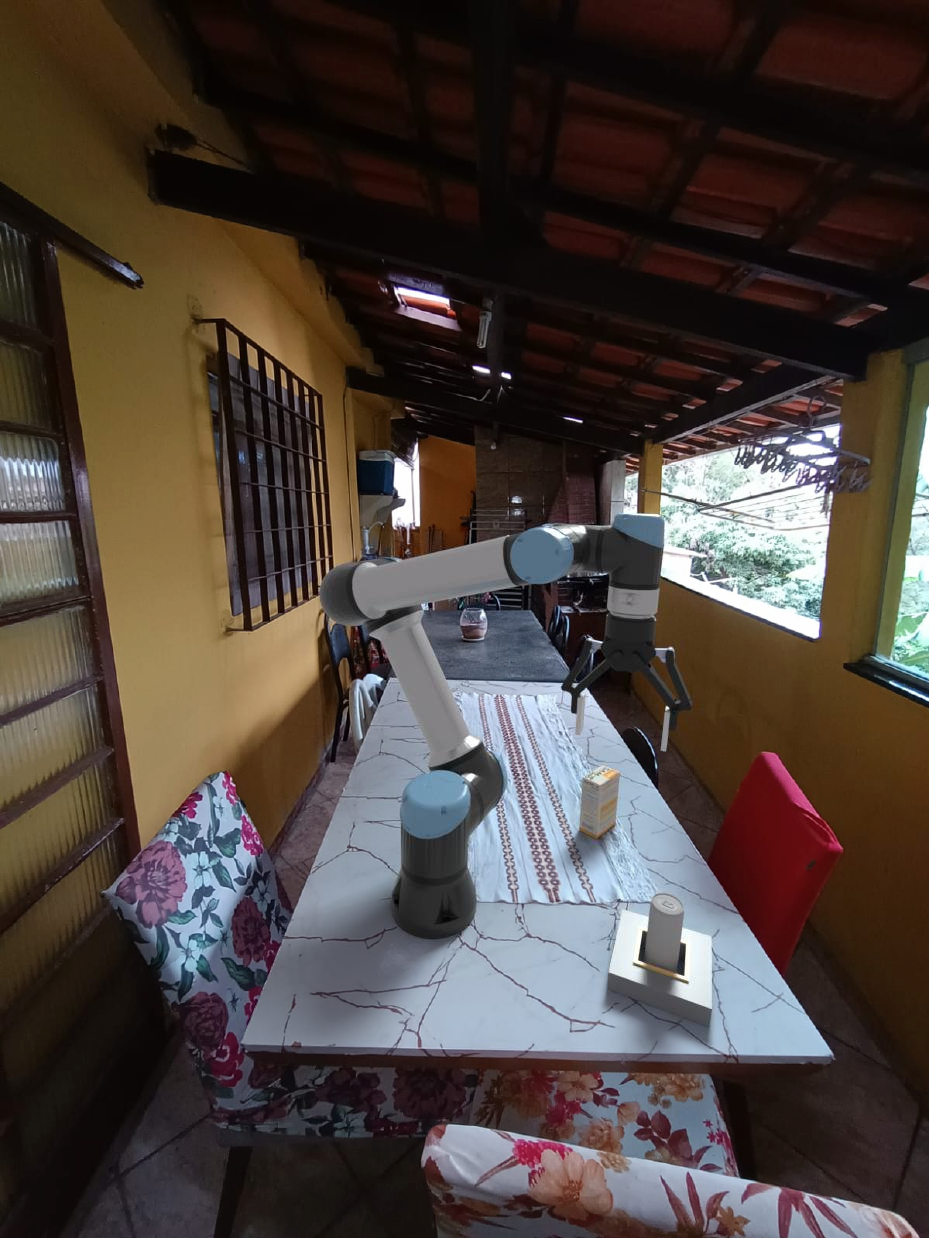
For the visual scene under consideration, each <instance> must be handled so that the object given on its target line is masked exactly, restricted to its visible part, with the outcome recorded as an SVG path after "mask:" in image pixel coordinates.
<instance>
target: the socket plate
mask: <svg viewBox="0 0 929 1238" xmlns="http://www.w3.org/2000/svg"><path fill="white" fill-rule="evenodd" d="M648 920H649V916H646V915H643V914H639V913H637V912H633V911H630V910H628V909H627V910H626V909H623V908H622V909H621V912H620V918H619V922H618V927H617V930H616V931H617V932H616V937H615V941H614V946H613V950H612V955H611V960H610V963H609V968H608V974H607V976H608V977H607V986H606V990H609V991H611V992H614V993H617V994H619V995H622V996H624V997H627V998H630V999H633V1000H637V1001H639V1002H641V1003H644V1004H645V1005H649V1006H652V1007H655V1008H658V1009H661V1010H662V1011H665V1012H668V1013H671V1014H673V1015H676V1016H678V1017H679V1016H680V1017H682V1018H684V1019H688V1020H690V1021H693V1022H695V1023H698V1024H701V1025H703V1026H706V1027H709V1028H710V1027H711V1019H712V1012H713V960H712V959H713V957H712V956H713V950H712V949H713V947H712V946H713V945H712V941H713V940H712V939H713V938H712V937H713V936H712V935H708V934H705V933H702V932H698V931H695V930H692V929H688V928H686V927H682V935H681V943H680V951H679V959H678V961H682V962H683V970H682V971H683V973H682V974H683V975H681V974H678V973H673V972H670V971H667V970H664V969H661V968H658V967H655V966H652V965H650V964H647V963H644V961H640V959H639V958H640V955H641V948H642V949H645V948H646V938H647V929H648Z"/></svg>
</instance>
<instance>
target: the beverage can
mask: <svg viewBox="0 0 929 1238" xmlns="http://www.w3.org/2000/svg"><path fill="white" fill-rule="evenodd" d="M648 917H649V920H648V929H647V938H646V948H644V949H645V950H644V957H643V958H644V959H643V962H644V963H647V964H650V965H652V966H655V967H658V968H661V969H664V970H667V971H670V972H673V973H676V974H678V973H677V972H678V965H679V960H678V959H679V951H680V943H681V935H682V928H684V927H683V925H684V918H685V907H684V904H683V902H682V901H681V900H680V899H679V898H678V897H677V896H674V895H673V894H670V893H666V892H657V893H655V894H654V895H652V897H651V900H650V903H649V913H648Z"/></svg>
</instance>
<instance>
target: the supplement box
mask: <svg viewBox="0 0 929 1238" xmlns="http://www.w3.org/2000/svg"><path fill="white" fill-rule="evenodd" d="M620 774H621V772H620V771H619V770H615V769H613V768H610V767H608V766H606V765H600V766H598V767H596V769H594V770H592V771H590V772H588V774H585V775H584V776H582V780H581V796H580V812H579V826H578V830H579V831H580V832H583V833H584V834H586V835H588V836H590V837H593V838H594V839H599V838H600V837H602V835H604V834H605V833H606V832H607V831H609V830H610V829H611V828H613V827H614V826H615V825H616V822H617V810H618V802H619V801H618V800H619V788H620V787H619V786H620V776H621V775H620Z"/></svg>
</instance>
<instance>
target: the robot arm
mask: <svg viewBox="0 0 929 1238" xmlns="http://www.w3.org/2000/svg"><path fill="white" fill-rule="evenodd" d="M613 517H614V518H613V522H612V523H611V524H610V525H590V524H571V523H563V522H560V523H559V522H558V523H557V522H556V523H545V524H542V525H541V526H536V527H533V528H529V529H527V530H525V531H521V532H518V533H514V534H511V535H503V536H499V537H496V538H495V537H494V538H492V539H487V540H483V541H479V542H474V543H471V544H466V545H462V546H458V547H457V546H456V547H454V548H449V549H445V550H440V551H436V552H431V553H428V554H422V555H419V556H415V557H411V558H406V559H402V558H398V557H388V556H380V557H376V558H374V559H367V560H359V561H353V562H352V561H351V562H344V563H341V564H339V565H336V566H335V567H333V568H332V569H331V570H329V571H328V572H327V573H326V574H325V576H324V577H323V578H322V581H321V583H320V587H319V590H318V591H319V593H318V596H319V602H320V605H321V607H322V609H323V611H324V614H326V615H327V617H328V618H330V619H331V620H332V621H333V622H335V623H337V624H339V625H341V626H345V627H346V626H347V627H357V626H358V627H359V626H361V625H364V627H365V629H366V631H367V633H368V634H369V636H370V637H372V638H374V639H377V640H379V641H380V642H381V645H382V648H383V650H384V652H385V654H386V656H387V658H388V661H389V663H390V665H391V667H392V670H393V672H394V675H395V676H396V679H397V681H398V683H399V685H400V688H401V690H402V692H403V694H404V696H405V699H406V701H407V703H408V705H409V707H410V709H411V712H412V714H413V716H414V718H415V722H416V723H417V726H418V728H419V730H420V732H421V735H422V736H423V739H424V740H425V741H424V742H425V743H426V745H427V748H428V750H429V752H430V753H429V757H428V760H427V762H426V765H427V767H428V769H429V773H425V772H423V773H421V774H418V775H416V776H415V777H413V778H412V779H411V780H410V781H409V782H408V783H407V784H406V786H405V787H404V789H403V792H402V793H401V794H402V795H401V804H400V808H399V817H400V861H401V863H400V869H399V872H398V875H397V878H396V880H395V883H394V886H393V888H392V892H391V900H390V901H391V914H392V918H393V919H394V921H395V923H396V924H397V925H398V926H399V928H401V929H402V930H403V931H405V932H407V933H409V934H410V935H413V936H416V937H419V938H422V939H423V938H424V939H441V938H442V939H443V938H446V937H450V936H453V935H455V934H457V933H459V932H461V931H463V930H464V929H466V927H468V925H469V924H471V922H472V920H474V917H475V915H476V912H477V890H476V888H475V885H474V881H473V878H472V875H471V872H470V869H469V867H468V866H469V864H468V861H469V860H468V859H469V839H470V837H471V835H472V834H473V833H474V831H476V829H477V828H478V827H479V826H480V825H481V823H482V822H483V821H484V820H485V818H486V817H487V816H488V815H489V814H490V813H491V812H492V811H493V810H494V808H496V807H497V805H498V804H499V803H500V801H501V799H502V798H503V796H504V793H505V792H506V789H507V786H508V771H507V768H506V765H505V763H504V761H503V759H502V757H501V756H500V755H499V754H498V753H497V752H496V751H493V750H492V749H491V748H490V747H489V746H486V745H485V744H484V741H483V740H482V738H481V736H480V737H479V736H477V735H474V734H472V733H471V732H470V730H469V728H468V725H467V723H466V720H465V719H464V717H463V714H462V712H461V709H460V707H459V705H458V703H457V700H456V699H455V696H454V694H453V692H452V689H451V687H450V685H449V683H448V681H447V679H446V676H445V673H444V671H443V670H442V667H441V665H440V663H439V660H438V659H437V656H436V654H435V651H434V649H433V647H432V645H431V643H430V641H429V638H428V636H427V634H426V632H425V629H424V627H423V625H422V619H423V616H424V613H425V611H424V609H423V607H422V605H423V604H429V603H435V602H441V601H447V600H451V599H457V598H462V597H466V596H472V595H478V594H483V593H490V592H493V591H500V590H505V589H510V588H516V587H520V586H523V587H524V586H528V585H535V584H536V585H544V584H549V583H553V582H557V581H558V580H559V579H561V578H563V577H566V576H569V575H571V574H573V573H587V574H588V573H590V574H600V575H601V574H602V575H604V574H607V575H609V579H608V580H609V582H608V593H607V605H606V609H607V610H608V611H609V612H608V613H607V614H606V615H605V616H606V617H605V629H604V630H605V631H604V638H603V641H600V640H597V639H596V640H595V638H593V637H592V636H589V637H588V638H586V640H584V643H583V647H582V652H581V654H580V656H579V657H578V659H577V660H576V662H575V663H574V665H573V667H572V668H571V670H570V671H569V672H568V674H567V676H566V678H565V679H564V680H563V682H562V684H561V687H560V689H561V690H562V691H563V692H567V693H569V694H570V696H571V699H570V712H571V714H573V715H576V716H575V717H576V718H575V730H574V731H575V733H574V734H575V735H576V736H580V735H581V734H582V733H583V730H584V719H585V709H586V708H585V707H586V693H584V690H586V689H587V688H588V687H590V685H592V683H594V682H595V681H596V680H597V679H598V678H599V677H601V675H603V674H604V673H605V672H607V671H608V670H609V669H610V667H611V668H612V669H614V670H615V671H616V672H628V673H631V674H637V673H639V672H641V674H642V675H643V676H644V678H646V679H647V680H648V682H649V683H650V684H651V686H652V687H653V689H654V690H655V691H656V693H657V694H658V695H659V697H660V698H661V700H662V701H663V702H664V704H665V705H666V706H665V710H664V716H663V717H664V718H663V727H662V736H661V745H660V751H662V752H667V746H668V740H669V739H668V738H669V731H670V732H675V731H676V730H677V729H678V728H677V727H678V719H679V713H680V712H683V711H687V712H688V711H689V712H690V711H691V710H692V705H693V702H692V701H693V700H692V699H691V698H692V697H691V696H690V694H689V691H688V688H687V687H686V684H685V681H684V680H683V677H682V674H681V672H680V670H679V668H678V665H677V663H676V654H675V653H676V650H675V648H674V647H673V646H668V647H666V648H662V647H661V648H660V647H659V648H658V647H656V645H655V637H656V627H657V618H656V617H655V616H654V615H655V614H656V613H658V607H659V606H658V605H659V597H660V590H661V589H660V584H661V575H662V566H663V558H664V550H665V528H666V527H665V523H666V522H665V519H664V518H663V516H661V515H660V514H655V513H625V512H624V513H619V512H618V513H617V514H615V516H613ZM598 650H601V652H602V654H603V656H604V657H605V658H604V660H603V661H602V662H601V663H599V664H598V665H597V666H596V667H595V668H594V669H593V670H592V671H590V673H587V676H585V677H584V678H583V679H581V680H580V681H579V682H578V683H577V684H574V681H575V680H576V678H577V676H578V675H579V673H580V672H581V671H582V669H583V667H584V666H585V665H586V663H587V661H588V660H589V658H590V656H591V654H595V653H596V652H597V651H598ZM656 657H658V658H659V659H660V661H661V662H662V663H665V667H666V669H667V670H666V671H667V672H668V675H669V677H670V681H671V682H672V685H673V687H674V689H675V692H676V693H677V697H678V699H679V700H677V698H676V696H675V695H674V694H673V693H672V691H671V690H670V688H669V687H668V686H667V685H666V683H665V682H664V681H663V679H662V678H661V676H660V675H659V674H658V673H657V671H656V669H655V667H654V666H653V665H652V663H651V662H652V661H653V659H654V658H656Z"/></svg>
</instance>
